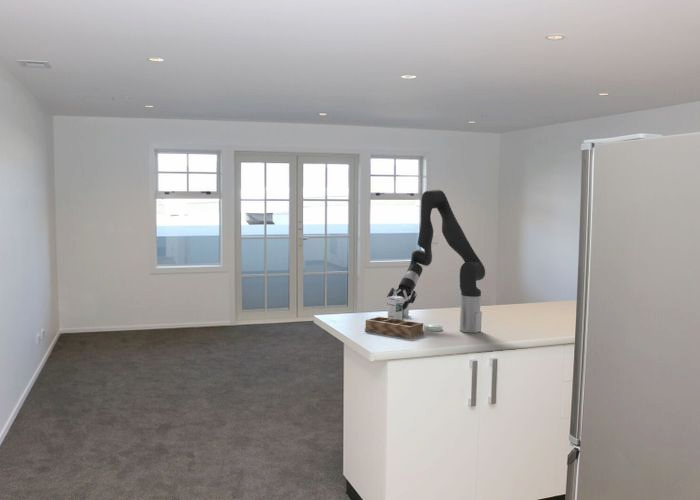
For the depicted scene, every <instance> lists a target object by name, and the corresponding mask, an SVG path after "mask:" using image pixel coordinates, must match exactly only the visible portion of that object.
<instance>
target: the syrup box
mask: <svg viewBox="0 0 700 500" xmlns="http://www.w3.org/2000/svg"><path fill="white" fill-rule="evenodd" d="M387 303H388V304H387V318H393V319H399V320H405V319H404V318H405V317H404V309H403V308H402V306H403V304H404V297H401V296H392V297H387Z"/></svg>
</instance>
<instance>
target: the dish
mask: <svg viewBox="0 0 700 500" xmlns="http://www.w3.org/2000/svg"><path fill="white" fill-rule="evenodd" d="M443 327H444V326H443V325H441V324H437V323H426V324H423V331H428V332H441V331H443Z"/></svg>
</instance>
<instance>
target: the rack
mask: <svg viewBox="0 0 700 500" xmlns="http://www.w3.org/2000/svg"><path fill="white" fill-rule="evenodd" d="M364 332H366V333H367V332H368V333H373V334H374V333H375V334H380V335H386V336H392V337H396V338H402V339H412V338H415V337H419V336H422V335H424V322H418V321H412V320H405V319H404V320H399V319H393V318H388V317H385V316H377V317H373V318H367V319H365V328H364Z"/></svg>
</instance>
